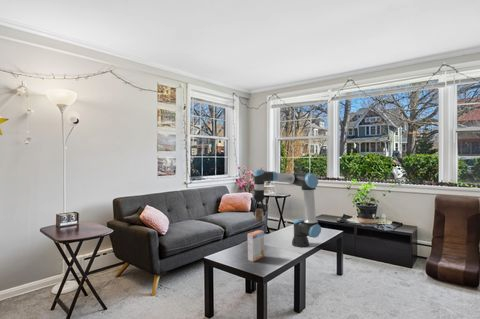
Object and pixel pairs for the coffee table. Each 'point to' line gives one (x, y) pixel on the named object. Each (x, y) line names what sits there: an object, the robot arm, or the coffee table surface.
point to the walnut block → (259, 215)
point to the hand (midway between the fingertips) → (259, 219)
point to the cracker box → (255, 245)
